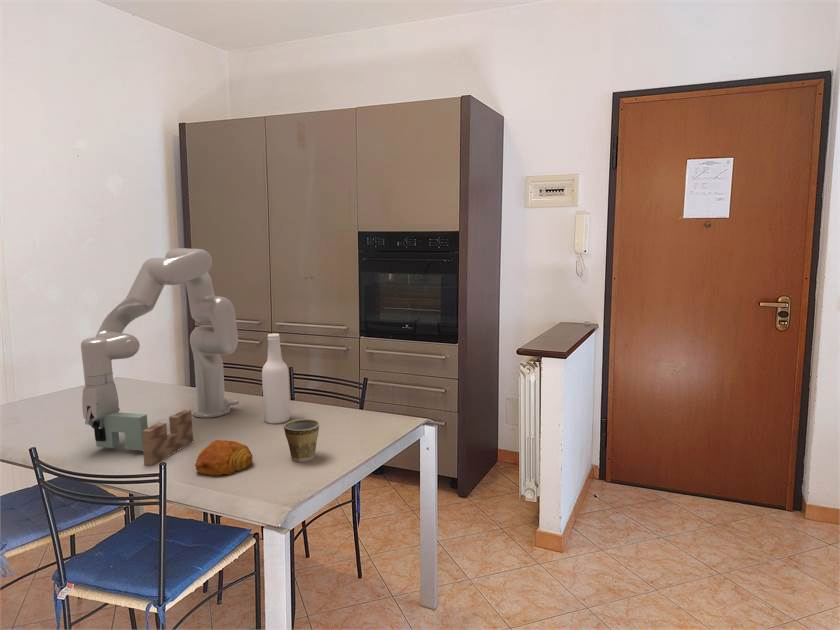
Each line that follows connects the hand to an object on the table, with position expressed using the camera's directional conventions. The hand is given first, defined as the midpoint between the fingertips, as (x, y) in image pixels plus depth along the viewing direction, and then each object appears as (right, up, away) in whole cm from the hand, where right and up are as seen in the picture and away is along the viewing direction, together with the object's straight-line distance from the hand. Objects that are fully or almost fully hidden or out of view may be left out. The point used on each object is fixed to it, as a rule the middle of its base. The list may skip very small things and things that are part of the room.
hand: (105, 438), depth 186 cm
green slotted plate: (+6, -2, -1) cm, 6 cm away
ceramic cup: (+60, -4, -6) cm, 61 cm away
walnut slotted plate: (+21, -4, -2) cm, 21 cm away
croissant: (+39, -6, -13) cm, 42 cm away
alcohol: (+46, +1, +27) cm, 53 cm away
